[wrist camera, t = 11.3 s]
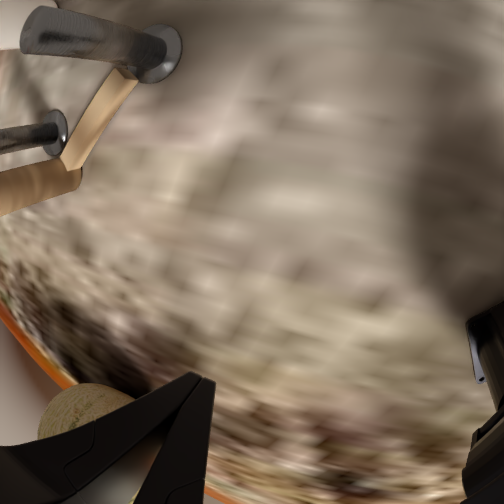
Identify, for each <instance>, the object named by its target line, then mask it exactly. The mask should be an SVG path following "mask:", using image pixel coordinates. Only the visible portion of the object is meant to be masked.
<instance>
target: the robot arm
mask: <svg viewBox="0 0 504 504" xmlns="http://www.w3.org/2000/svg"><path fill="white" fill-rule="evenodd" d="M473 324H475V325H474V326H473V327H471V326H472V325H473ZM466 329H467V334H468V339H469V344H470V349H471V355H472V361H473V367H474V374H475V379H476V382H477V383H478V384H482V383H484V382H486V381H487V384H488V387H489V390H490V393H491V396H492V399H493V402H494V405H495V409H496V413H495V414H494V415H493V416H492V417H491V418H490V419H489V420H488V421H487V422H486V423H485V424H484V425H483V426H482V427H481V428H478V429H477V430H476V431H475V432H474V433H473V435H472V442H471V449H470V452H469V455H468V459H467V463H466V467H465V468H463V470H462V485H463V489H464V493H465V496H466V498H467V499H465V500H463V501H462V502H461V503H460V504H504V302H503V303H501V304H499V305H497V306H495V307H493V308H491V309H489V310H487V311H485V312H483V313H481V314H479V315H477V316H475V317H473V318H471V319H469V320H468V321H467V323H466ZM481 377H482V378H481ZM215 390H216V382H215V381H213V380H211V379H208V378H206V377H204V378H203V377H202V376H201V375H199V374H197V373H195V372H192V371H190V372H187V373H185V374H184V375H182V376H180V377H178V378H176V379H174V380H173V381H171V382H169V383H167V384H165V385H163V386H161V387H159V388H157V389H156V390H154V391H152V392H150V393H148V394H146V395H144V396H142V397H140V398H138V399H136V400H134V401H132V402H130V403H128V404H126V405H124V406H122V407H120V408H118V409H116V410H114V411H112V412H110V413H108V414H105V415H103V416H101V417H99V418H97V419H96V420H92V421H90V422H88V423H86V424H84V425H81V426H79V427H77V428H74V429H72V430H69V431H66V432H63V433H60V434H57V435H54V436H50V437H47V438H43V439H39V440H36V441H32V442H28V443H24V444H20V445H14V446H0V504H128V503H129V501H130V500H131V499H132V498H133V496H134V495H135V494H136V492H137V491H138V490H139V489H140V490H139V492H138V494H137V496H136V498H135V500H134V502H133V504H203V498H204V486H205V475H206V466H207V457H208V448H209V440H210V431H211V423H212V414H213V406H214V398H215ZM140 487H141V488H140Z"/></svg>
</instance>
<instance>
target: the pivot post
mask: <svg viewBox="0 0 504 504" xmlns="http://www.w3.org/2000/svg"><path fill="white" fill-rule="evenodd" d="M19 45H20V50H21V52H22V53H23V54H33V55H50V56H62V57H72V58H81V59H89V60H96V61H103V62H110V63H116V64H122V65H127V67H128V70H130V72H131V73H132V74H133V75H134V76H135V77H136V78H137V79H138V80H139V81H138V82H141V83H147V84H151V83H156V82H159V81H161V80H163V79H165V78H166V77H167V76H168V75H170V74H171V73H172V71H173V70H174V69H175V68H176V66H177V64H178V62H179V60H180V57H181V54H182V40H181V37H180V35H179V33H178V32H177V31H176V30H175V29H174V28H172V27H170V26H168V25H165V24H156V25H152V26H149V27H147V28H145V29H144V30H142V31H140V30H137V29H134V28H131V27H128V26H124V25H121V24H118V23H115V22H111V21H108V20H104V19H101V18H97V17H93V16H89V15H86V14H81V13H77V12H73V11H69V10H64V9H59V8H54V7H49V6H43V5H41V6H38V7H37V8H35V9H34V10H33V11H32V12H31V13H30V15H29V16H28V18H27V19H26V21H25V23H24V25H23V28H22V31H21V34H20V41H19Z"/></svg>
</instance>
